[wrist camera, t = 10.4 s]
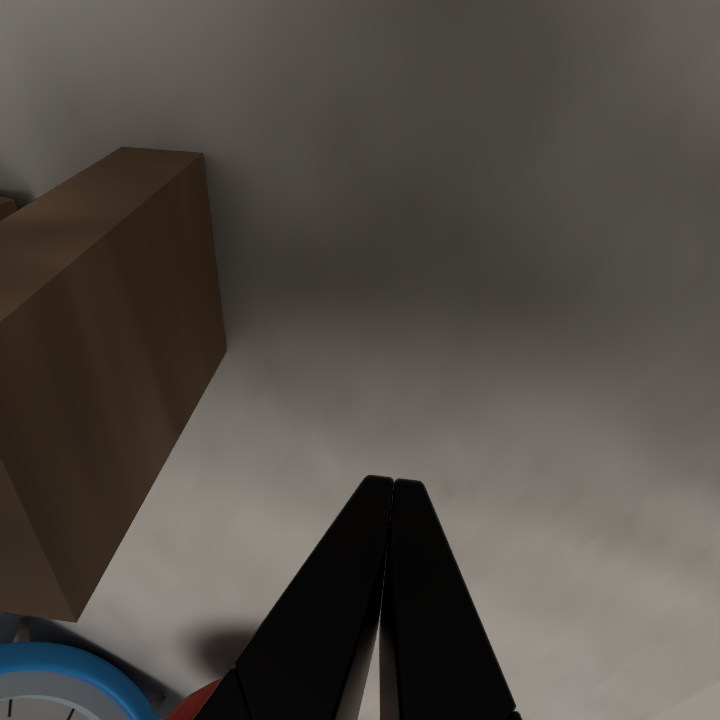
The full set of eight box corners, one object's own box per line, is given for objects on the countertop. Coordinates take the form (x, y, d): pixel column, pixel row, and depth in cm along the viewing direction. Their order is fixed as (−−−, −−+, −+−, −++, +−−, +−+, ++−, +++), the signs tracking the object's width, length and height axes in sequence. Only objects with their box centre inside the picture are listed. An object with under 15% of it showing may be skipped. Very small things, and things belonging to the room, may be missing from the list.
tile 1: (202, 152, 11) (-46, 360, 5) (226, 351, 14) (76, 621, 8) (122, 146, 11) (-198, 342, 6) (161, 344, 14) (-30, 606, 8)
